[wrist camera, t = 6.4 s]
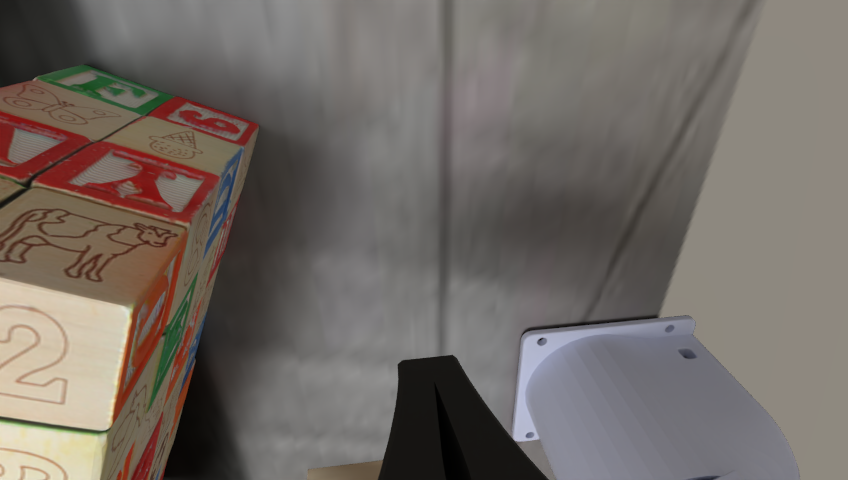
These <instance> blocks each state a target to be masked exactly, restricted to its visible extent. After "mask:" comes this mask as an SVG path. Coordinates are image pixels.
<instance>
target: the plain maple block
mask: <svg viewBox="0 0 848 480" xmlns="http://www.w3.org/2000/svg"><path fill="white" fill-rule="evenodd" d="M382 463H383V460H381V461H373V462H365V463H357V464H349V465H340V466H332V467H324V468H316V469H308V477H307V480H378V477H379V473H380V470H381V466H382Z"/></svg>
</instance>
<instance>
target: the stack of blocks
mask: <svg viewBox="0 0 848 480" xmlns="http://www.w3.org/2000/svg"><path fill="white" fill-rule="evenodd" d="M258 131H259V125H258V124H256V123H254V122H250V121H248V120H245V119H242V118H239V117H236V116H233V115H230V114H228V113H225V112H222V111H219V110H216V109H213V108H210V107H207V106H204V105H201V104H199V103H196V102H193V101H190V100H187V99H184V98H182V97H174V96H172V95H169V94H166V93H163V92H160V91H157V90H154V89H151V88H149V87H146V86H143V85H140V84H137V83H135V82H132V81H129V80H126V79H123V78H120V77H118V76H115V75H112V74H109V73H106V72H103V71H100V70H98V69H95V68H92V67H90V66H87V65H80V66H76V67H72V68H68V69H64V70H60V71H56V72H52V73H49V74H45V75H42V76H38V77H36V78H35V79H34V80H33V81H27V82H23V83H19V84H15V85H11V86H7V87H3V88H0V480H162V479H163V476H164V472H165V468H166V463H167V459H168V456H169V453H170V451H171V448H172V445H173V443H174V439H175V435H176V432H177V428H178V424H179V420H180V417H181V413H182V409H183V404H184V401H185V398H186V395H187V391H188V387H189V384H190V380H191V376H192V373H193V369H194V365H195V362H196V360H195V355H196V351H197V348H198V344H199V340H200V336H201V332H202V329H203V325H204V322H205V318H206V314H207V308H208V305H209V301H210V298H211V294H212V290H213V286H214V283H215V279H216V275H217V271H218V268H219V264H220V260H221V257H222V255H223V254H224V251H225V247H226V244H227V241H228V237H229V234H230V230H231V226H232V222H233V219H234V215H235V212H236V208H237V204H238V201H239V197H240V194H241V191H242V189H243V185H244V182H245V178H246V175H247V171H248V167H249V164H250V160H251V157H252V153H253V149H254V146H255V142H256V139H257V135H258Z"/></svg>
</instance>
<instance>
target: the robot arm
mask: <svg viewBox="0 0 848 480" xmlns="http://www.w3.org/2000/svg"><path fill="white" fill-rule="evenodd" d="M667 326H668V327H667ZM695 326H696V322H695V320H694V319H693V318H692V317H690V316H686V315H685V316H675V317H666V318H655V319H645V320H635V321H624V322H614V323H604V324H594V325H584V326H574V327H564V328H554V329H543V330H533V331H528V332H526V333H525V334H524V335H523V336H522V338H521V346H520V356H519V365H518V375H517V385H516V395H515V404H514V414H513V424H512V436H513V439H514V440H515V441H529V440H537V439H540V441H541V444H542V446H543V449H544V451H545V453H546V456H547V458H548V461H549V463H550V466H551V468H552V471H553V473H554V475H555V478H556V480H800V475H799V470H798V466H797V463H796V460H795V458H794V455H793V452H792V450H791V448H790V446H789V444H788V442H787V440H786V438H785V436H784V434H783V433H782V431H781V429H780V428H779V427H778V425H777V424H776V422H775V421H774V420H773V418H772V417H771V416H770V415H769V414H768V413H767V412H766V410H765V409H764V408H763V407H762V406H761V405H760V404H759V403H758V402H757V401H756V400H755V399H754V398H753V397H752V396H751V395H750V394H749V393H748V392H747V391H746V390H745V388H744V387H743V386H742V385H741V384H740V383H739V382H738V381H737V380H736V379H735V378H734V377H733V376H732V375H731V374H730V373H729V372H728V371H727V370H726V369H725V368H724V367H723V366H722V365H721V364H720V362H719V361H718V360H717V359H716V358H715V357H714V356H713V355H712V354H711V353H710V352H709V351H708V350H707V349H706V348H705V347H704V346H703V345H702V344H701V343H700V342H699V341H698V340H697V339H696V338H695V337H694V336H693V332H694V329H695ZM540 338H543V339H542V340H540V341H538V340H539V339H540ZM513 439H512V438H511V436H510V435H509V434H508V433H507V431H506V430H505V429H504V428H503V426H502V425H501V424H500V422H499V421H498V420H497V418H496V417H495V416H494V414H493V413H492V412H491V411H490V409H489V408H488V407H487V405H486V404H485V402H484V401H483V400H482V398H481V397H480V395H479V394H478V392H477V391H476V389H475V388H474V386H473V385H472V383H471V382H470V380H469V378H468V377H467V375H466V374H465V372H464V370H463V369H462V367H461V365H460V363H459V361H458V359H457V358H456V357H454V356H453V355H448V356H439V357H430V358H420V359H411V360H402V361H401V362H400V363H399V364H398V393H397V400H396V407H395V412H394V417H393V422H392V427H391V432H390V437H389V441H388V445H387V448H386V452H385V455H384V459H383V463H382V466H381V470H380V473H379V477H378V480H549V479H548V478H547V477H546V476H545V475H544V474H543V473H542V472H541V471H540V470H539V469H538V468H537V467H536V466H535V464H534V463H533V462H532V461H531V460H530V459H529V458H528V457H527V455H526V454H525V453H524V452H523V451H522V450H521V448H520V447H519V446H518V445H517V444H516V442H515V441H514V440H513Z"/></svg>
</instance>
